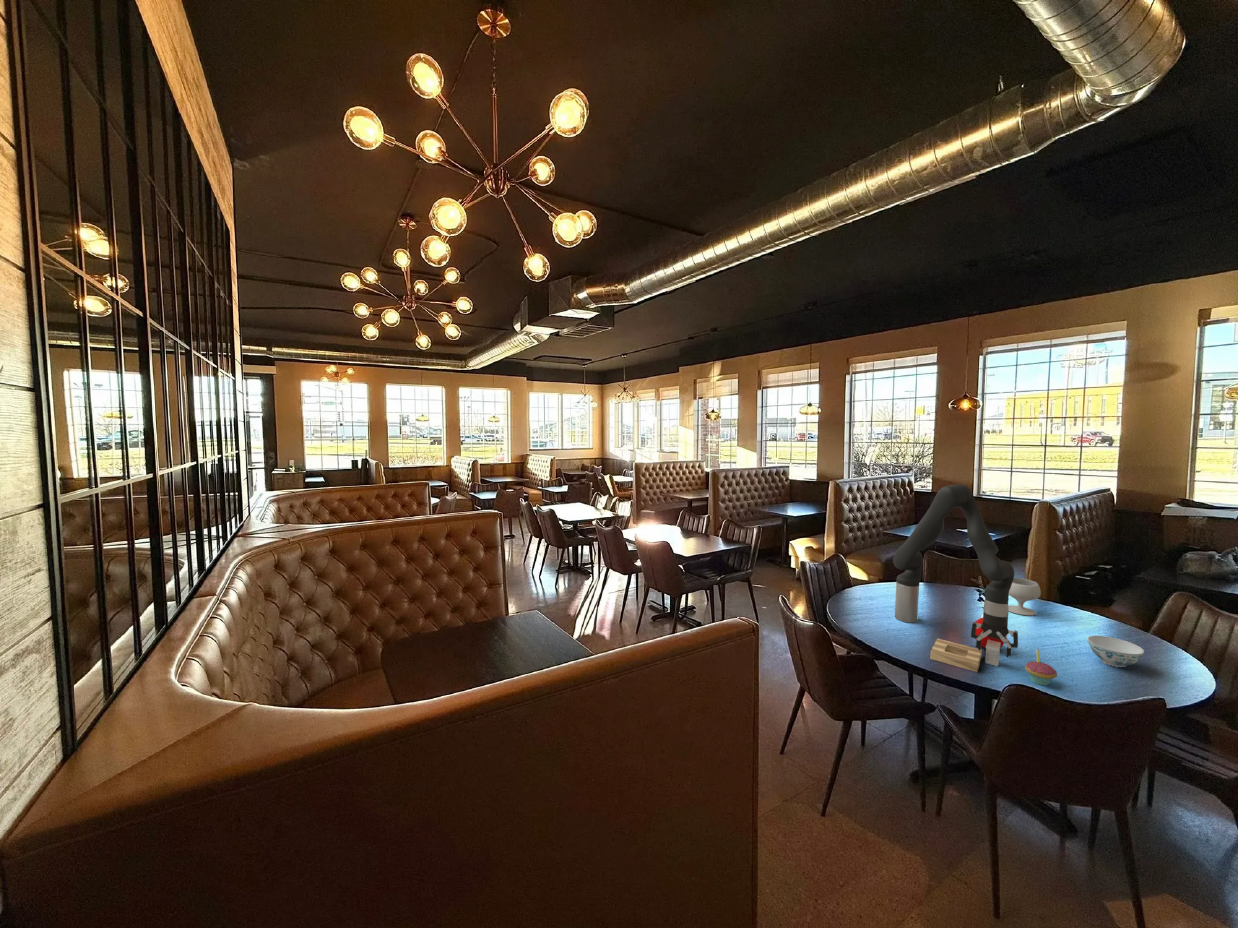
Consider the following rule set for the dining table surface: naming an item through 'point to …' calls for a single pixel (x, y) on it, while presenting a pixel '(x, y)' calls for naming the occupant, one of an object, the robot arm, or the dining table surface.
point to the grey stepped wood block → (992, 652)
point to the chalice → (1023, 595)
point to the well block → (956, 654)
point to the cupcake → (1040, 671)
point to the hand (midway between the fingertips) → (993, 652)
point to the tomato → (984, 640)
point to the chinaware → (1115, 650)
